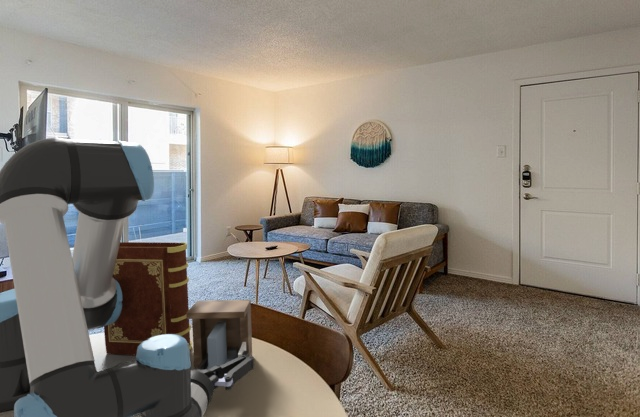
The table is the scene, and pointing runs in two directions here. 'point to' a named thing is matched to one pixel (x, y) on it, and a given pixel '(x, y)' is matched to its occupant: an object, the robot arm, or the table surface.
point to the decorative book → (149, 295)
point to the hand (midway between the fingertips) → (216, 347)
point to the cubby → (207, 318)
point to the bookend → (217, 346)
